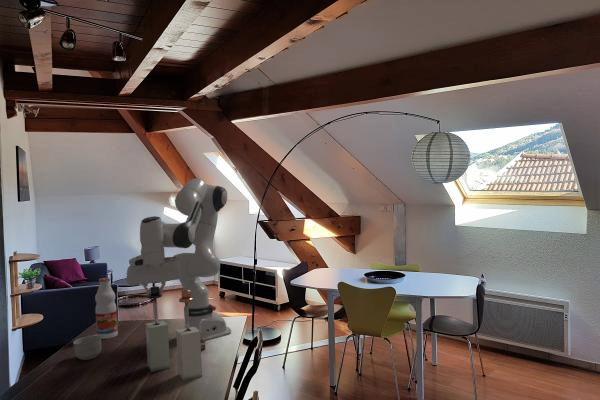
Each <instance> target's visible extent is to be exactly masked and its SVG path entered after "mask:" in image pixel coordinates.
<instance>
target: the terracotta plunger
mask: <svg viewBox="0 0 600 400" xmlns="http://www.w3.org/2000/svg"><path fill="white" fill-rule="evenodd" d="M180 292H181V297H180V298H179V299H178V302H179V303H184V307H185V316H186V332H188V331H190V329H189V309H188V302H191V301H193V300H194V298H193V297H191V294H190V290H183V289H182V290H181V291H180Z"/></svg>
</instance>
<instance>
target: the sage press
mask: <svg viewBox="0 0 600 400" xmlns="http://www.w3.org/2000/svg"><path fill="white" fill-rule="evenodd" d="M145 335H146V336H145V341H146V357H147V358H146V359H147V368H148V369H149V370H150V372H152V373H153V372H157V371H158V372H159V371H161V370H162V371H163V370H167V369H170V368H171V365H170V364H171V363H170V361H171V360H170V344H169V343H170V342H169V325H168V323H167V322H165V321H164V320H158V325H155V321H153V322H148V323H147V322H146V323H145Z"/></svg>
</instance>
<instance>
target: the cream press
mask: <svg viewBox="0 0 600 400" xmlns="http://www.w3.org/2000/svg"><path fill="white" fill-rule="evenodd" d="M189 329H190V331H188V332H186V328H185V327H184V328H180V329H176V330H175V333H176V334H175V336H176V352H177V355H176V356H177V372H178V374H177V375H178V376H179V378H180V379H181V381H183V382H186V381H189V380H193V379H194V380H195V379H200V378H202V377H203V367H202V364H203V363H202V350H201V342H200V331H199V330H198V329H197V328H195V327H190V328H189Z"/></svg>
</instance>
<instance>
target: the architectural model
mask: <svg viewBox="0 0 600 400" xmlns="http://www.w3.org/2000/svg"><path fill="white" fill-rule="evenodd" d="M200 342H201V351H203V350H206V345H207V343H206V340H205V339H203V333H200Z"/></svg>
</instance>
